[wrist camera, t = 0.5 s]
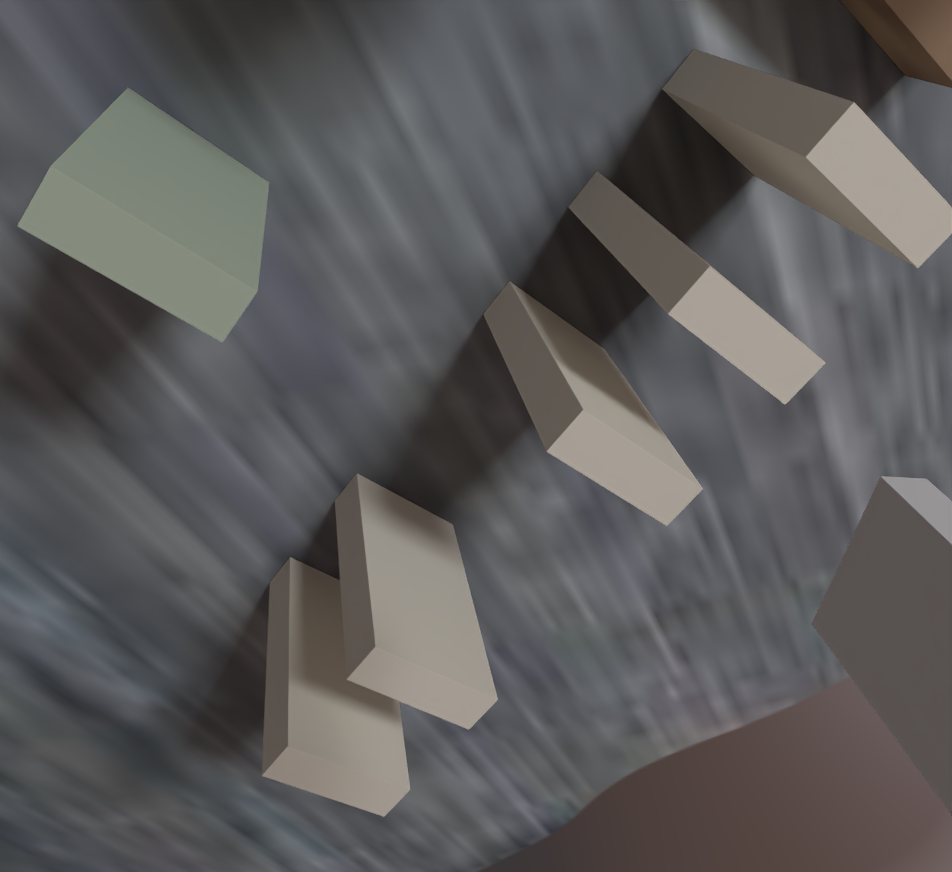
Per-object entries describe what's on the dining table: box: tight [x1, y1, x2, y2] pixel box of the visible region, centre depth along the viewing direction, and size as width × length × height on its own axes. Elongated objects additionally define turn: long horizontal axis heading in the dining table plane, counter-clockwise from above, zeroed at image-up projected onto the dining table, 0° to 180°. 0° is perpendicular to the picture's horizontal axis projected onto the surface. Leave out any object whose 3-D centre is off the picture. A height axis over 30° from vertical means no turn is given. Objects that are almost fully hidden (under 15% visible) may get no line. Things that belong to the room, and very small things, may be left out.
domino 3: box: [335, 473, 498, 729], centre depth 33 cm, size 2×5×10 cm, turn 52°
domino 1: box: [18, 88, 269, 343], centre depth 24 cm, size 2×5×10 cm, turn 52°
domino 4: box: [662, 49, 952, 268], centre depth 27 cm, size 2×5×10 cm, turn 52°
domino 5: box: [568, 171, 825, 404], centre depth 28 cm, size 2×5×10 cm, turn 52°
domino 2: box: [262, 557, 410, 816], centre depth 34 cm, size 2×5×10 cm, turn 52°
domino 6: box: [483, 281, 703, 526], centre depth 30 cm, size 2×5×10 cm, turn 52°
